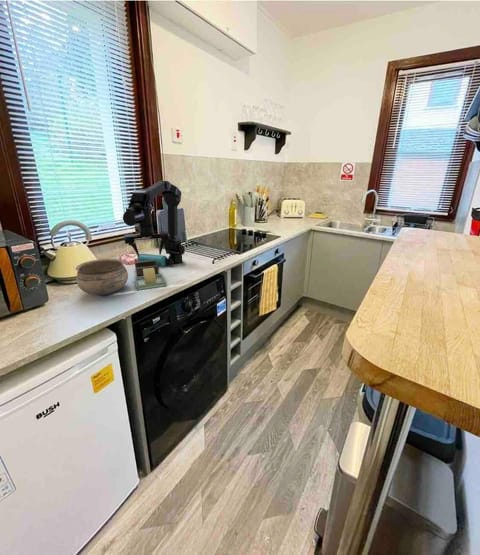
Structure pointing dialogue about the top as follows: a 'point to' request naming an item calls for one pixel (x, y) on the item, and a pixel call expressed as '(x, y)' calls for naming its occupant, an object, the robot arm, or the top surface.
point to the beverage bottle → (160, 259)
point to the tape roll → (149, 276)
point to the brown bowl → (101, 276)
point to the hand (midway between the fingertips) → (149, 255)
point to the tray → (150, 284)
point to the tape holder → (145, 267)
